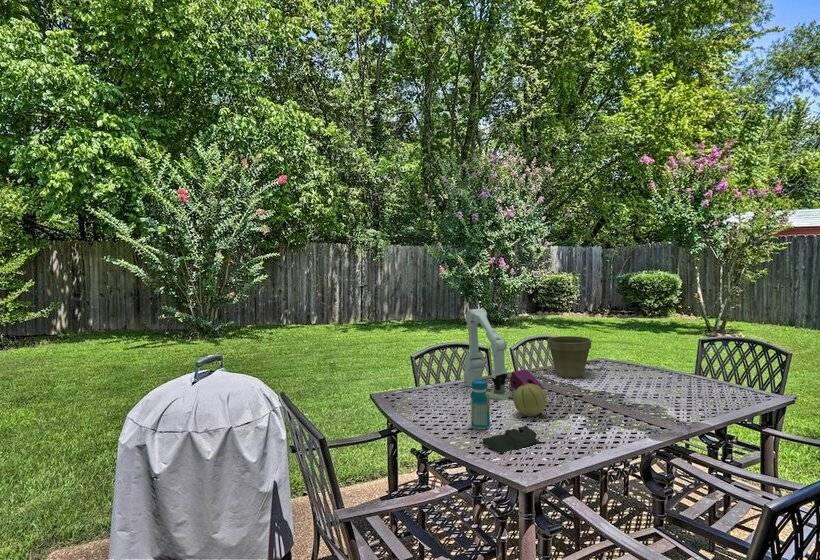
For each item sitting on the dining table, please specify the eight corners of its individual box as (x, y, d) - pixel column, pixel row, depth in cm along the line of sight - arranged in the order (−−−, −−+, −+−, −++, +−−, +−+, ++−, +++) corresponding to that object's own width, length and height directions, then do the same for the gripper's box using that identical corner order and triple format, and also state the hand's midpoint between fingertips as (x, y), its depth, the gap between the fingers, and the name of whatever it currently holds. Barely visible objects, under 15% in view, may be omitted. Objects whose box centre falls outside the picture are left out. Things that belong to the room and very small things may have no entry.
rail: (471, 395, 260) (471, 383, 259) (479, 391, 267) (478, 379, 267) (503, 400, 249) (502, 388, 249) (510, 395, 257) (509, 383, 256)
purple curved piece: (542, 402, 263) (521, 381, 277) (546, 390, 259) (525, 369, 273) (528, 405, 258) (508, 383, 272) (532, 392, 255) (512, 371, 269)
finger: (493, 394, 255) (493, 385, 255) (496, 392, 258) (496, 383, 258) (501, 395, 252) (501, 386, 252) (504, 393, 255) (504, 384, 255)
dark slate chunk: (476, 443, 197) (476, 431, 197) (520, 432, 207) (520, 421, 207) (500, 456, 183) (500, 444, 183) (545, 444, 193) (545, 432, 193)
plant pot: (545, 370, 307) (544, 335, 306) (586, 369, 304) (586, 335, 302) (551, 380, 282) (550, 343, 281) (596, 380, 279) (595, 342, 278)
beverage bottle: (477, 431, 208) (476, 384, 207) (467, 425, 216) (466, 380, 215) (494, 427, 212) (493, 382, 210) (483, 421, 219) (482, 377, 218)
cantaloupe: (550, 420, 218) (549, 387, 217) (516, 421, 219) (515, 387, 218) (542, 409, 233) (542, 378, 232) (511, 410, 234) (510, 379, 233)
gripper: (500, 366, 246) (500, 393, 247) (511, 360, 258) (512, 386, 258) (487, 365, 250) (488, 391, 251) (499, 359, 262) (500, 384, 262)
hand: (499, 388), depth 255 cm, fingers closed on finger, 4 cm apart
